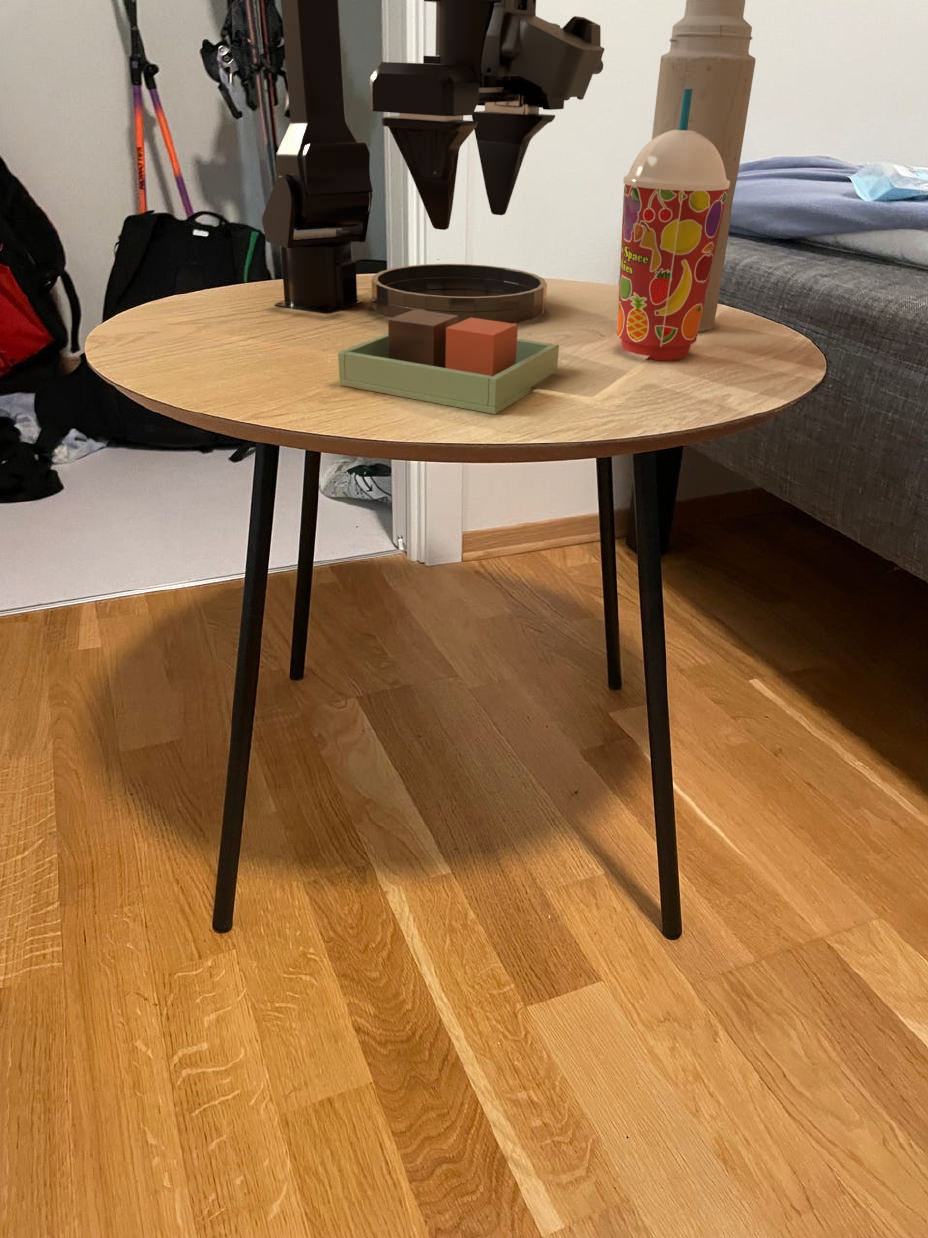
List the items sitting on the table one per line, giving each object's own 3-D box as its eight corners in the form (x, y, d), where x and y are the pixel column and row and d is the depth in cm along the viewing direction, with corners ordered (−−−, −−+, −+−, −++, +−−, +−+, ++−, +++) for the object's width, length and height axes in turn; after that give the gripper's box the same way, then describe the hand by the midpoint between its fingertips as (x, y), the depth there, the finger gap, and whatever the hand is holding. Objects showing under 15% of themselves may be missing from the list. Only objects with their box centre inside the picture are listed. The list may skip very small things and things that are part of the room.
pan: (338, 315, 90) (337, 283, 89) (426, 286, 104) (426, 258, 102) (498, 340, 84) (499, 305, 82) (570, 305, 97) (572, 275, 95)
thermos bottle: (704, 314, 95) (754, -19, 80) (722, 333, 88) (780, -27, 74) (626, 312, 95) (662, -21, 80) (637, 331, 88) (679, -30, 74)
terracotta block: (444, 381, 70) (445, 327, 68) (469, 369, 74) (470, 317, 72) (492, 389, 69) (494, 334, 67) (515, 376, 72) (518, 323, 70)
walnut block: (388, 371, 72) (387, 318, 70) (414, 359, 75) (414, 308, 73) (433, 379, 71) (433, 325, 69) (458, 367, 74) (459, 315, 72)
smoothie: (597, 340, 84) (622, 86, 74) (687, 340, 85) (723, 89, 75) (618, 365, 77) (648, 88, 67) (716, 365, 78) (760, 91, 68)
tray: (339, 385, 71) (337, 351, 69) (413, 352, 79) (413, 322, 78) (495, 414, 66) (496, 379, 64) (557, 376, 74) (559, 344, 73)
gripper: (532, -49, 51) (514, 251, 59) (642, -22, 66) (616, 218, 74) (362, -47, 56) (367, 232, 64) (500, -22, 70) (490, 204, 78)
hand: (471, 221), depth 70 cm, fingers open, 9 cm apart
